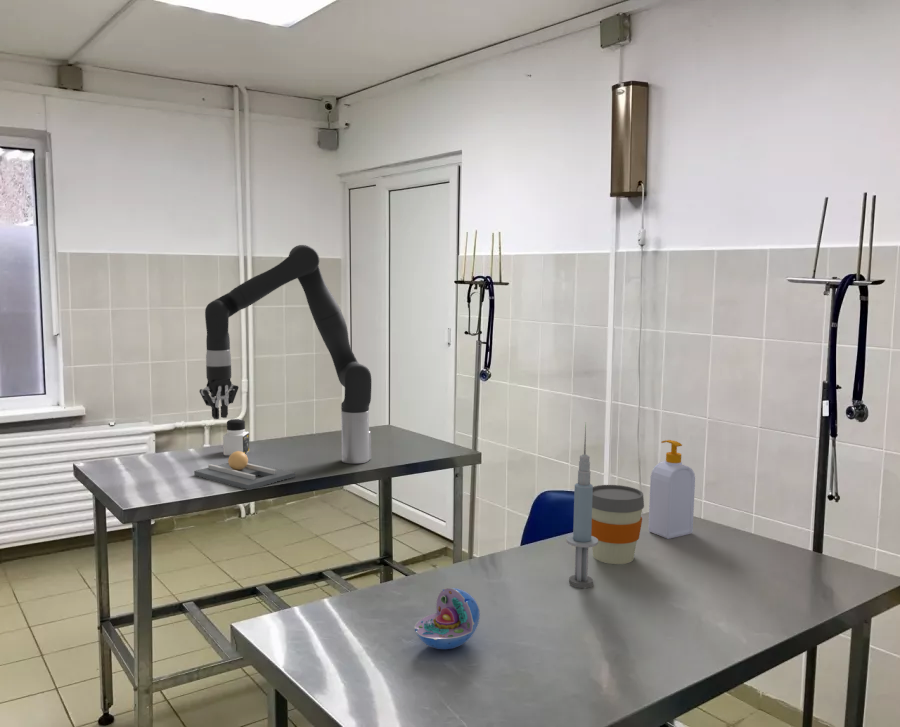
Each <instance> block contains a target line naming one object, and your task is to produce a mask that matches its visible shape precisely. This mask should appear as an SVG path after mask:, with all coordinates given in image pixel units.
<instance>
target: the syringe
mask: <svg viewBox="0 0 900 727" xmlns="http://www.w3.org/2000/svg"><path fill="white" fill-rule="evenodd" d="M586 428H587V423H585V427H584V444H583V454H581V455H579V461H578V470H577V483H575V484H574V489H573V490H574V491H573V492H574V495H573V502H574V503H573V526H572V527H573V528H572V531H573V532H572V534H570V535H568V536H566V537H565V540H566V543H567V544H568V545H570V546H572V547H575V555H574V556H575V558H574V559H575V560H574V561H575V562H574V566H575V567H574V574H573V575H571V576H570V577H569V578H568V579H569V580H568V583H569V585H570V586H571V587H574V588H577V589H579V588H580V589H588V588H591V587H593V585H594V583H593V582H594V580H593V578H592V577H591V576H589V575H588V572H589V570H588V569H589V568H588V567H589V548H592V547H594V546H596V545H597V544H598V539H597V538H596V537H594V536H591V529H592V497H593V487H594V485H593V484H591V470H590V468H591V467H590V466H591V462H590V457H591V456H590V455H588V454H586V452H587V449H586V448H587V447H586V446H587V444H586V441H587V440H586V439H587V436H586V435H587V429H586Z"/></svg>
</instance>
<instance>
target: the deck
mask: <svg viewBox="0 0 900 727" xmlns="http://www.w3.org/2000/svg"><path fill="white" fill-rule="evenodd" d="M193 473H194V474H193V475H194V477H198V476H199V478H202V477H203V478H202V479H205V478H207V479H206V480H209V479H210V481H213V480H214V481H213V482H216V483H217V482H218V483H220V482H221V484H224V483H226V484H225V485H228V484H230V485H229V486H232V485H233V486H232V487H235V486H238V487H237V488H239V487H242V488H241V489H243V488H246V489H245V490H247V489H248V490H247V491H251V490H254V489H257V487H258V488H261V487H263V486H262V485H265V486H267V485H266V484H269V485H272V484H275V483H274V482H276V483H278V482H277V481H280V482H282V481H281V480H283V481H285V480H284V479H287V480H289V479H288V478H291V477H294V478H296V472H294V471H291V470H286V469H282V468H277V467H274V466H273V467H272V466H269V465H265V464H260V463H255V462H251V461H248V464H247V466H246V467H245V468H244V469H242V470H234V469H232V468H231V467H230V466H229V463H228V462H227V463H222V464H218V465H215V464H212V463H210V464H208V467H204V468H201V469H197V470H194V472H193ZM258 475H261V476H260V477H259V478H257V477H258ZM263 476H264V477H263ZM291 479H292V478H291ZM271 483H272V484H271ZM260 486H261V487H260Z"/></svg>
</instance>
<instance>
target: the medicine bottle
mask: <svg viewBox="0 0 900 727" xmlns="http://www.w3.org/2000/svg"><path fill="white" fill-rule="evenodd" d="M245 423H246V422H245V420H244V419H241V418H232V419H228V420H227V422H226V433H224V434H223V436H222V447H223V448H222V449H223V456H230V455H231V454H232V453H233V452H236V451H241V452H244V453H246V454H247V453H249V452H250V432H249V431H246V424H245Z"/></svg>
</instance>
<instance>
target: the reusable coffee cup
mask: <svg viewBox="0 0 900 727" xmlns="http://www.w3.org/2000/svg"><path fill="white" fill-rule="evenodd" d="M644 501H645V499H644V492H643V491H642V490H640V489H638V488H635V487H632V486H626V485H622V484H621V485H619V484H600V485H599V484H598V485H595V486H594V485H593V497H592V529H591V536H594V537H596V538H597V539H598V544H597V545H596V546H594V547H591V548H592V557H593V558H594V559H595V560H597V561H598V562H601V563H605V564H609V565H625V564H629V563H631V562H633V561H634V559H635V558H634V557H635V552H636V548H637V547H636V546H637V542H638V540H639V539H640V534H641V531H642V530H641V528H642V524H643V523H642V522H643V517H642V513H643V509H644V508H645V502H644Z"/></svg>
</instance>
